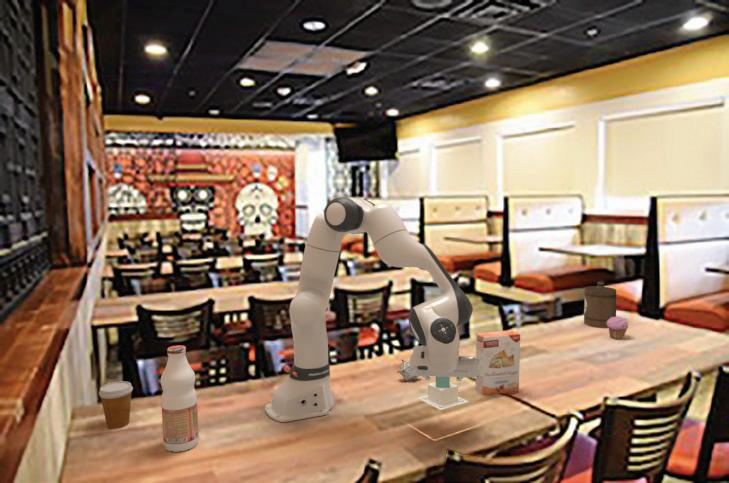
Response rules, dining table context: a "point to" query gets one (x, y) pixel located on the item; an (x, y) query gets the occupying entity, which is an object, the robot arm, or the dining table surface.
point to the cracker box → (498, 362)
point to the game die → (406, 371)
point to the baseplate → (441, 407)
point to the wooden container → (599, 305)
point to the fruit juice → (179, 402)
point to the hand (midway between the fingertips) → (443, 378)
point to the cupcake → (617, 327)
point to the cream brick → (442, 394)
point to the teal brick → (443, 382)
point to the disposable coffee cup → (116, 403)
